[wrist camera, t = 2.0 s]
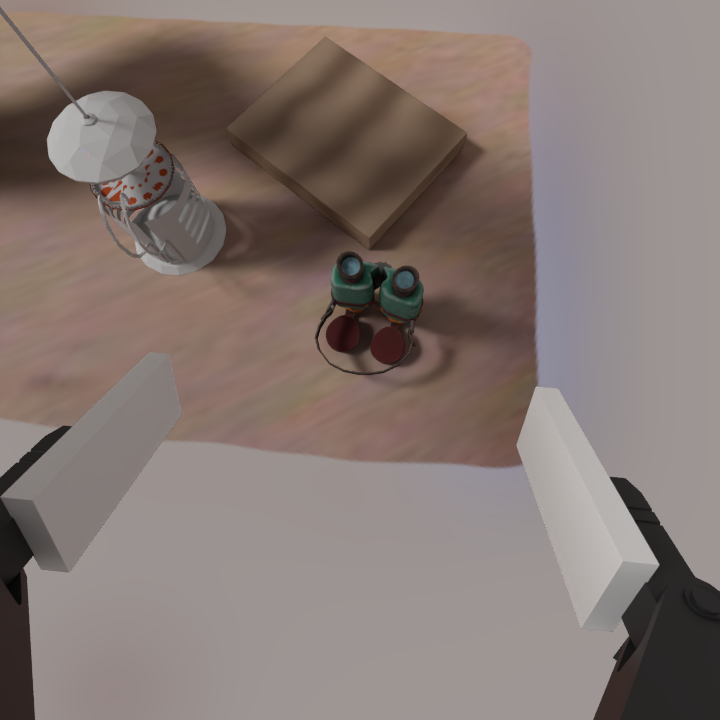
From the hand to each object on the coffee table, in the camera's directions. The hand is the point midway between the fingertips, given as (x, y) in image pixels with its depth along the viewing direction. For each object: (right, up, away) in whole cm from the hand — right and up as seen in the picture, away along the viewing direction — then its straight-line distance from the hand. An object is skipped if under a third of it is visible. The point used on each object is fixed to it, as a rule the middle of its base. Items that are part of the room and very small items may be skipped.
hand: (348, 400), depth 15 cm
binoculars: (+1, +4, +27) cm, 27 cm away
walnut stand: (-1, +25, +31) cm, 40 cm away
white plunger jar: (-19, +14, +29) cm, 37 cm away
